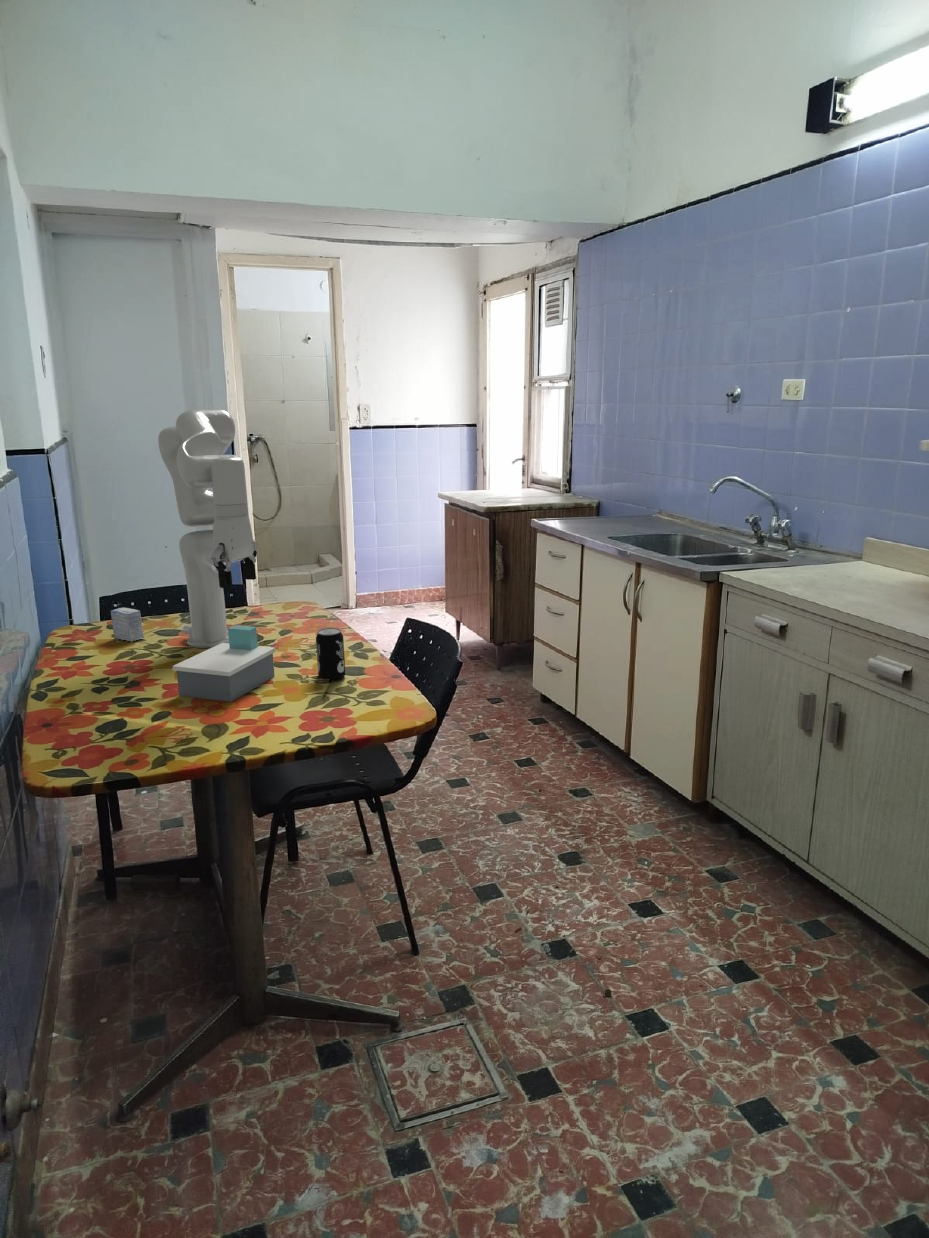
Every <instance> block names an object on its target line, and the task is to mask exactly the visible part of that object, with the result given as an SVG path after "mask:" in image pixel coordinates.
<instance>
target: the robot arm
mask: <svg viewBox="0 0 929 1238" xmlns="http://www.w3.org/2000/svg"><path fill="white" fill-rule="evenodd" d="M235 435H236V425H235V421H234V418H233V417H232V415H231V414H230V413H229V412H228V411H226V410H224V409H193V410H192V409H191V410H186V411H184V412H182V413H180V414H179V415H178V416H177V419H176V421H175V425H174V426H169V427H166V428H163V429H162V430H160V432H159V433H158V436H157V437H158V439H157V442H158V448H159V453H160V456H161V459H162V461H163V463H164V465H165V467H166V469H167V470H168V473H169V474H170V477H171V479H172V483H173V488H174V493H175V500H176V506H177V510H178V515H179V519H180V521H181V523H182V524H183V526H186V527H189V528H196V527H197V528H200V527H210V526H211V527H213V529H207V530H206V529H205V530H204V529H203V530H195V531H190V532H187V533H185V534H184V535H182V536H181V538H180V540H179V542H178V546H179V548H178V549H179V553H180V557H181V560H182V561H181V562H182V563H183V564H182V565H183V568H184V574H185V579H186V580H185V581H186V590H187V598H188V608H189V617H190V625H187V624H185V625H184V626H183V629H181V633H182V634H183V635H188V638H187V639H186V643H187V645H188V646H189V647H191V648H199V649H210V648H212V647H215V646H217V645H219V644H221V643H229V636H228V624H227V614H226V602H225V594H224V589H232V588H233V577H232V576H233V575H232V571H231V570H230V568H231V566H232V563H237V562H241V561H243V562H242V563H241V565H242V573H243V575H242V576H243V579H244V580H247V581H248V580H251V581H254V580H257V573H256V572H257V571H256V562H257V559H256V558H257V555H258V546H259V543H258V542H257V541H255V540H254V537H253V531H252V524H251V520H250V515H249V514H250V513H249V506H248V505H249V503H248V492H247V482H246V481H247V480H246V470H245V462H244V460H243V459H242V458H241V457H239V456H237V455H234V454H226V452H227V451H228V449H229V448H230V447H231V444H232V443H233V442H234V439H235ZM209 488H212V490H209ZM212 566H214V567H215V570H214V569H213V567H212Z"/></svg>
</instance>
